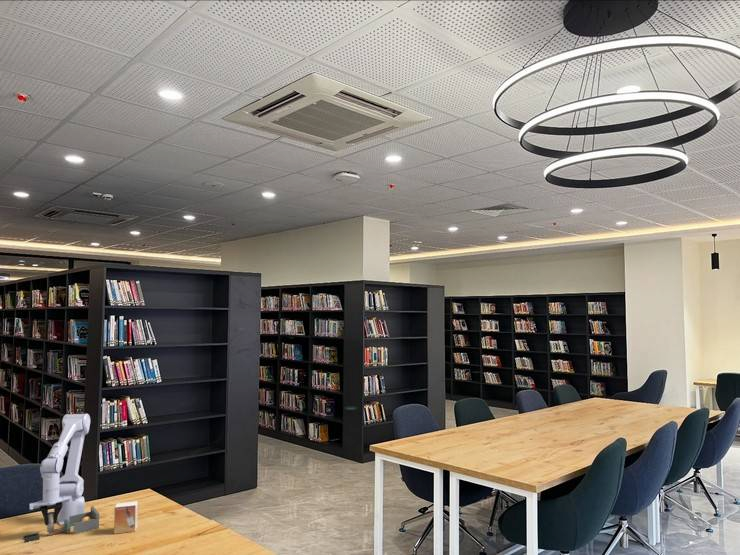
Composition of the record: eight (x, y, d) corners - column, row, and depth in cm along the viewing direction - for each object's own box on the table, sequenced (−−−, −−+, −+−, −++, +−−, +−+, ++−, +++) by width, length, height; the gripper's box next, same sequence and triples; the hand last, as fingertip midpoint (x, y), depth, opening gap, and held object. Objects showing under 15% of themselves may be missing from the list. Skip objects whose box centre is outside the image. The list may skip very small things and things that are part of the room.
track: (38, 536, 217) (38, 532, 217) (39, 539, 214) (39, 535, 214) (23, 539, 214) (23, 535, 214) (24, 543, 210) (24, 539, 211)
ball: (90, 513, 228) (79, 517, 226) (92, 516, 225) (81, 520, 223) (91, 523, 229) (80, 526, 226) (93, 526, 225) (82, 529, 223)
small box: (113, 534, 217) (114, 507, 218) (116, 529, 222) (116, 502, 223) (135, 532, 219) (135, 505, 220) (137, 526, 225) (137, 500, 225)
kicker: (67, 527, 224) (67, 506, 225) (70, 532, 219) (70, 511, 220) (45, 532, 220) (46, 511, 220) (48, 537, 214) (48, 515, 215)
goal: (93, 520, 232) (93, 506, 232) (98, 528, 223) (99, 513, 224) (69, 526, 227) (69, 511, 227) (74, 534, 218) (74, 518, 218)
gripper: (31, 495, 211) (30, 531, 210) (73, 487, 220) (73, 522, 219) (29, 490, 217) (28, 526, 216) (70, 483, 226) (69, 516, 225)
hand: (50, 523), depth 218 cm, fingers closed on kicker, 2 cm apart
